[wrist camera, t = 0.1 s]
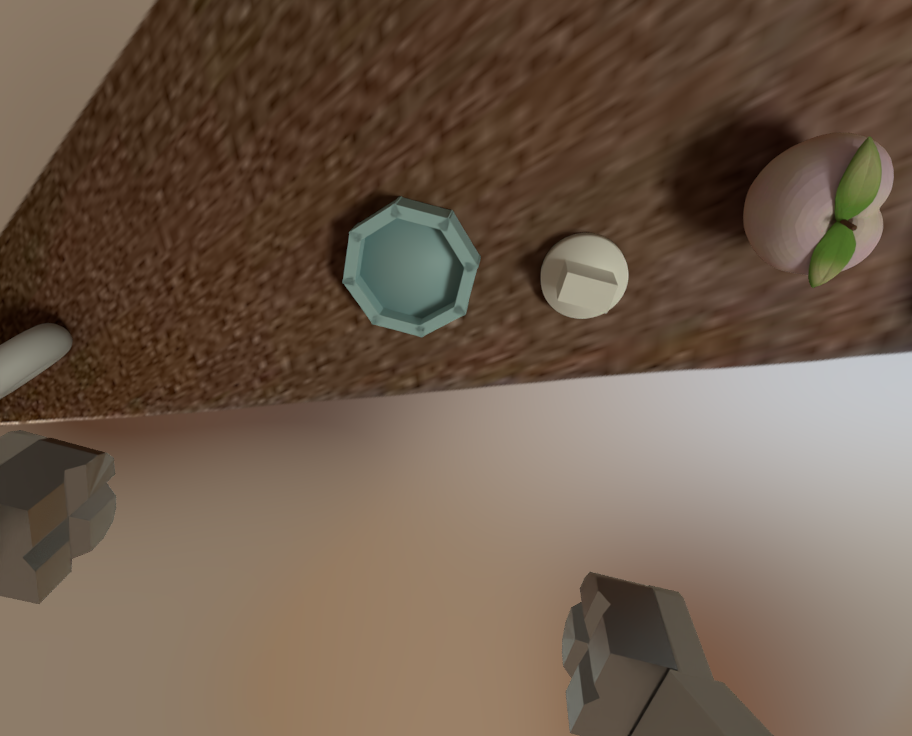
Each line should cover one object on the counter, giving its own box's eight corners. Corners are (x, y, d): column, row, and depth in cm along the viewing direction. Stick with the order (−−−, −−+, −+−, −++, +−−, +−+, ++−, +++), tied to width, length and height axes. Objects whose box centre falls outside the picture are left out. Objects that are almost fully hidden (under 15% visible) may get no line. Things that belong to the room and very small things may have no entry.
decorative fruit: (729, 133, 40) (784, 155, 31) (854, 116, 39) (948, 134, 30) (719, 258, 45) (765, 308, 36) (831, 247, 43) (907, 295, 35)
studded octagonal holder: (362, 185, 45) (354, 192, 43) (490, 219, 45) (488, 228, 43) (345, 304, 50) (337, 315, 48) (460, 334, 50) (457, 346, 48)
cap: (555, 222, 45) (558, 238, 41) (638, 244, 45) (649, 262, 41) (530, 299, 48) (530, 321, 44) (607, 320, 48) (614, 343, 45)
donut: (72, 301, 54) (-16, 349, 45) (99, 329, 55) (19, 381, 46) (15, 348, 57) (-77, 400, 48) (42, 373, 58) (-42, 428, 50)
